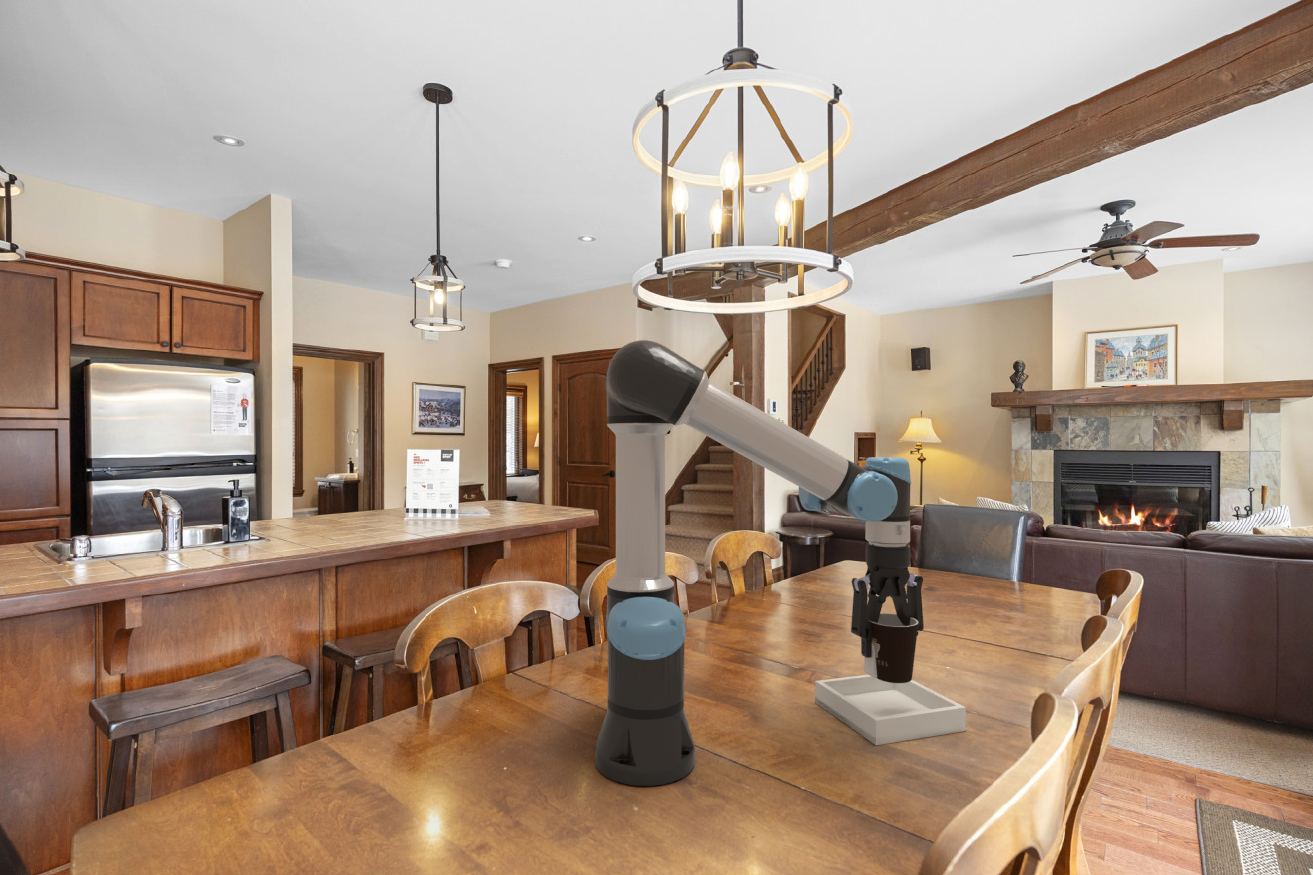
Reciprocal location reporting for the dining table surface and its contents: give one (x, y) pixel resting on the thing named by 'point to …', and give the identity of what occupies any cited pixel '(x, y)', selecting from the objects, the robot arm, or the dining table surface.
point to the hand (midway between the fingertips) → (887, 672)
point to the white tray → (889, 708)
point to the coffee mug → (894, 648)
